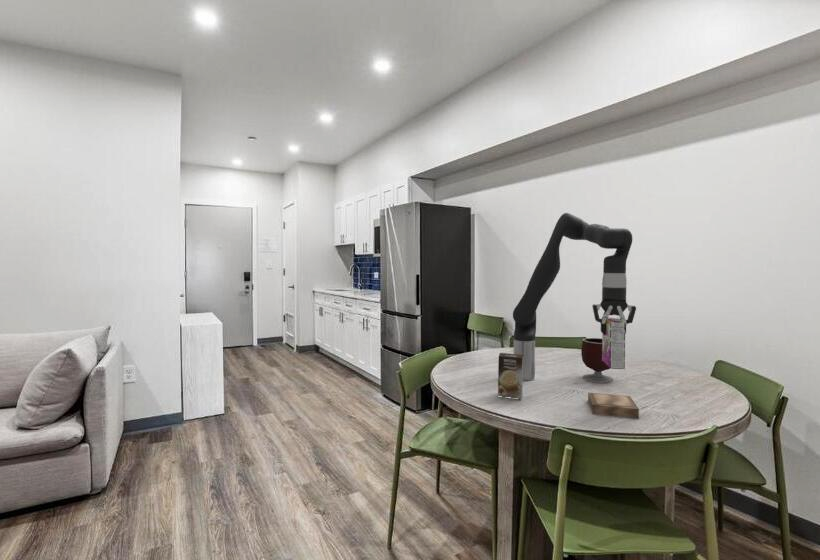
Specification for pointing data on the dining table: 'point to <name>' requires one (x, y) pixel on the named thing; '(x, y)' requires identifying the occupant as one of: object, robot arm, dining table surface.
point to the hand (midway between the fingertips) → (613, 334)
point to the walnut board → (613, 405)
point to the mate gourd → (594, 360)
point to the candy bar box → (614, 343)
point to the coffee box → (510, 375)
